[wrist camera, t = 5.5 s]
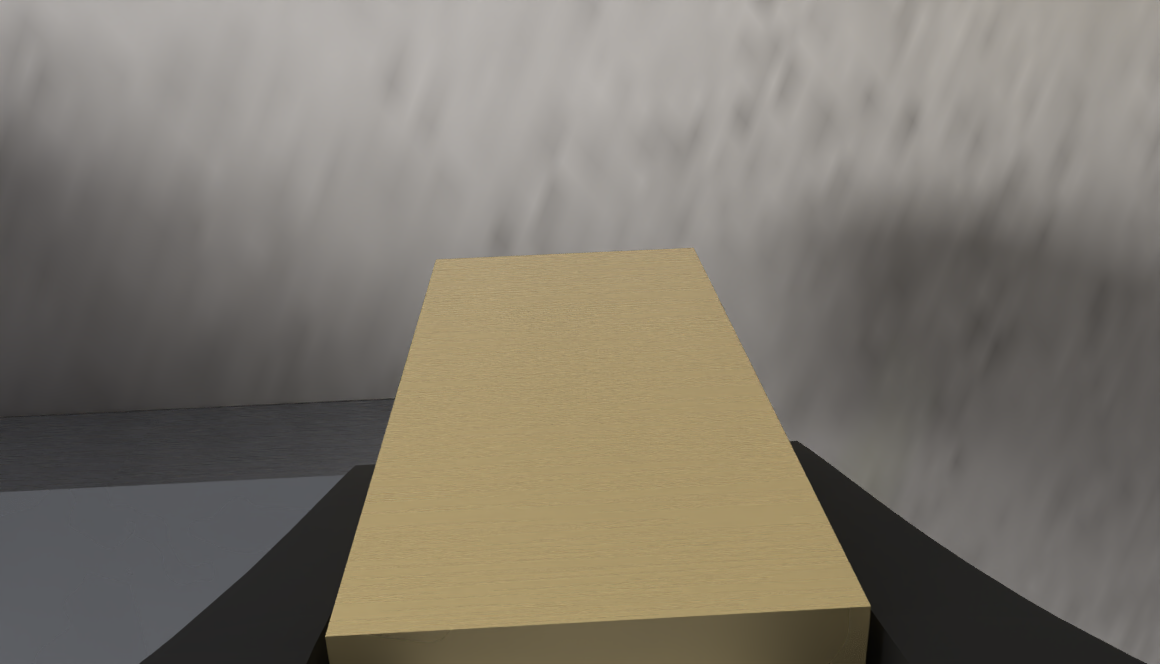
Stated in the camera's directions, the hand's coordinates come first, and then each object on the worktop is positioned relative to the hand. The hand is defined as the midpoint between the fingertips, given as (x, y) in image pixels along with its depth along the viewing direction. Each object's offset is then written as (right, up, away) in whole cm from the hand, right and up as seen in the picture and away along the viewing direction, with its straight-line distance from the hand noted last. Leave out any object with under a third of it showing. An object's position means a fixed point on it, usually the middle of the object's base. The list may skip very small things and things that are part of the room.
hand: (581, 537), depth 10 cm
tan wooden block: (0, +1, +3) cm, 3 cm away
